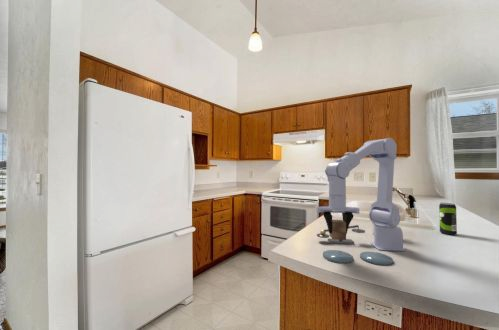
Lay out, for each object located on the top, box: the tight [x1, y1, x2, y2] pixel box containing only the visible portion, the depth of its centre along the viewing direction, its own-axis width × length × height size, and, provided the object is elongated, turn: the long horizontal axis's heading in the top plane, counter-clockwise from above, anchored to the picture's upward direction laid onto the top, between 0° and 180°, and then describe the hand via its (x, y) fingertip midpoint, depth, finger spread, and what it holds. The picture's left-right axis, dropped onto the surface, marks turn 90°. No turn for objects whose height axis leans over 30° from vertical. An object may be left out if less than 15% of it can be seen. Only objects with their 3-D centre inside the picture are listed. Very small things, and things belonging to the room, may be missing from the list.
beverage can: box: [438, 202, 458, 236], centre depth 108 cm, size 6×6×15 cm
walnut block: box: [329, 218, 347, 240], centre depth 78 cm, size 4×4×6 cm
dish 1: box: [322, 249, 354, 264], centre depth 78 cm, size 10×10×1 cm
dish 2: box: [359, 251, 394, 266], centre depth 76 cm, size 10×10×1 cm
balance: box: [316, 224, 366, 245], centre depth 94 cm, size 20×5×8 cm, turn 83°
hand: (337, 233), depth 78 cm, fingers closed on walnut block, 4 cm apart
